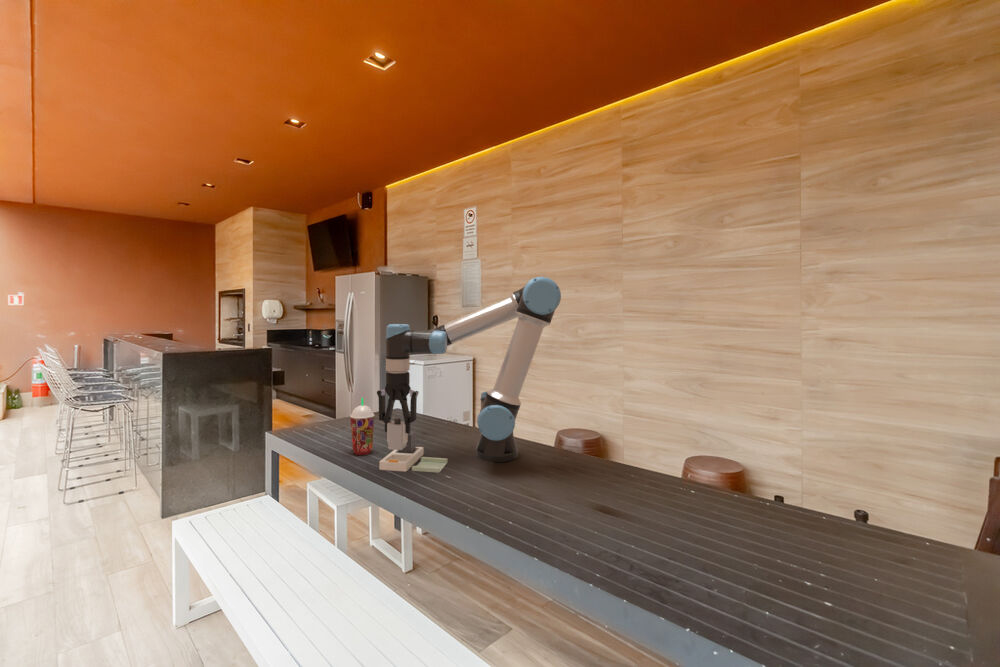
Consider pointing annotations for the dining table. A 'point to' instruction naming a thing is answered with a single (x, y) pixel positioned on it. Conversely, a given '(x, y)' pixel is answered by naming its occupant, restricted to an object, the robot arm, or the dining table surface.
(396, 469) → the cream rectangular tray
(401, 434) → the plug
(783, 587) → the dining table surface
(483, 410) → the robot arm
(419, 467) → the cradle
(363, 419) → the smoothie
